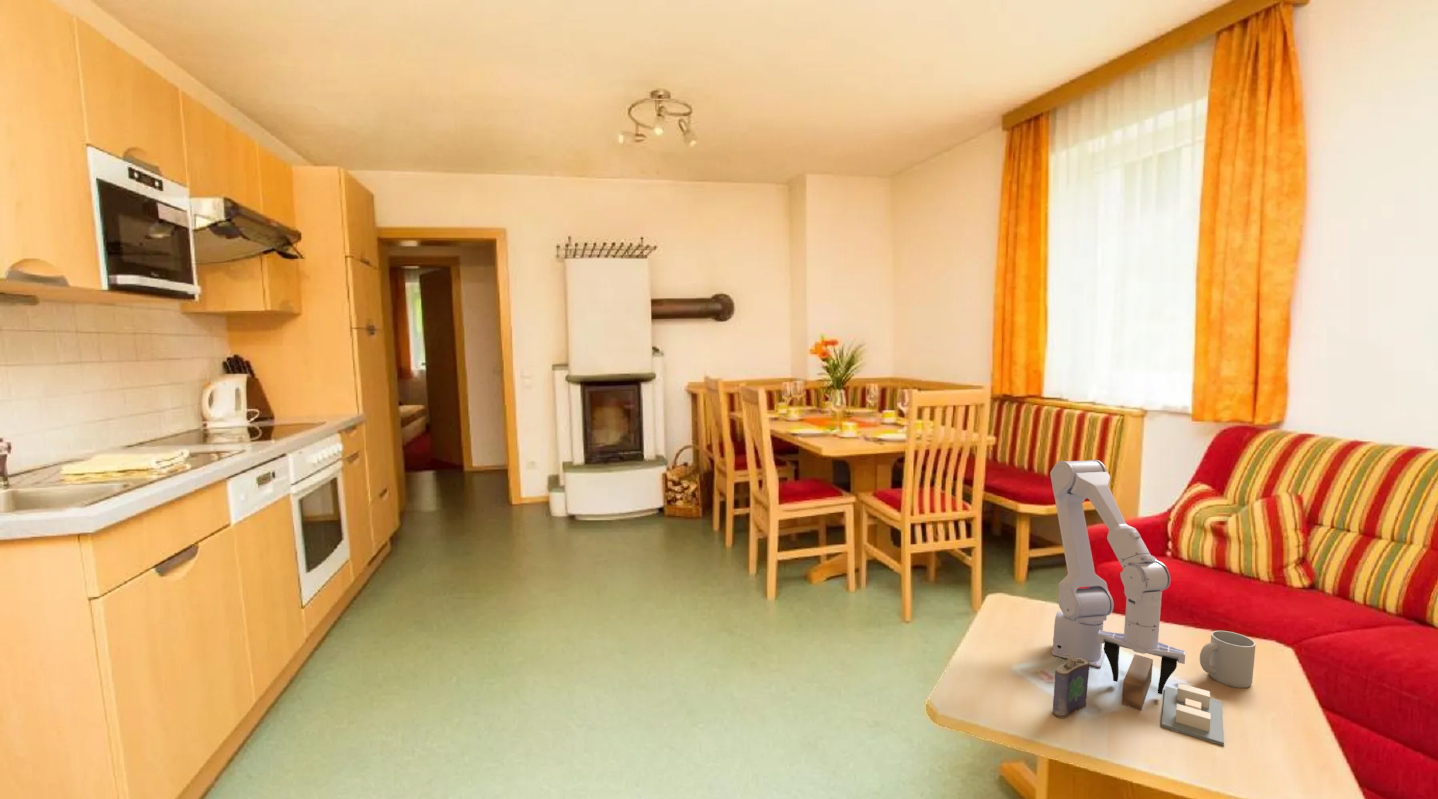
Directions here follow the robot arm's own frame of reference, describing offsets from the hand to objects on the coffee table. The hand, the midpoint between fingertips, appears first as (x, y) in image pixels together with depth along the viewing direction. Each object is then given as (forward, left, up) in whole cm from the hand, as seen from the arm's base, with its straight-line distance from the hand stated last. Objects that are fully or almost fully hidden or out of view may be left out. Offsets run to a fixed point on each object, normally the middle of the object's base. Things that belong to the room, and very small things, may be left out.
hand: (1137, 685), depth 128 cm
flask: (-10, -15, -2) cm, 18 cm away
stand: (+9, -3, -1) cm, 10 cm away
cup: (+14, +17, -2) cm, 22 cm away
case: (0, 0, -2) cm, 2 cm away
